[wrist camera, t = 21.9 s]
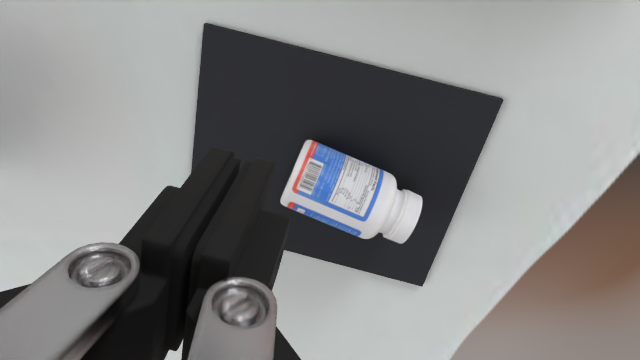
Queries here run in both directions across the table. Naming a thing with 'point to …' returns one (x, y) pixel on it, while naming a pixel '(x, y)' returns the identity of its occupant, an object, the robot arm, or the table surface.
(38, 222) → the table surface
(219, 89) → the desk mat
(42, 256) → the table surface
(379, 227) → the pill bottle
